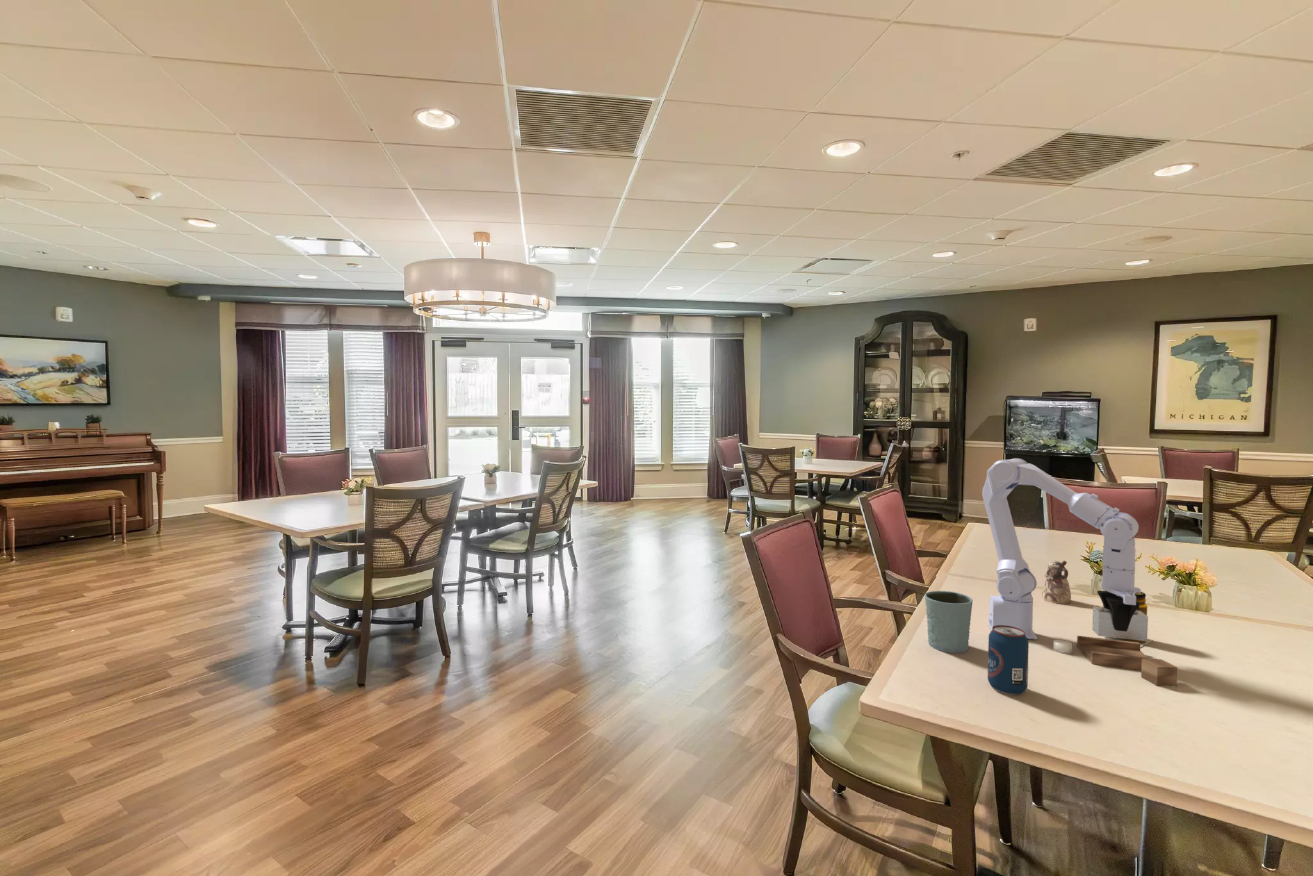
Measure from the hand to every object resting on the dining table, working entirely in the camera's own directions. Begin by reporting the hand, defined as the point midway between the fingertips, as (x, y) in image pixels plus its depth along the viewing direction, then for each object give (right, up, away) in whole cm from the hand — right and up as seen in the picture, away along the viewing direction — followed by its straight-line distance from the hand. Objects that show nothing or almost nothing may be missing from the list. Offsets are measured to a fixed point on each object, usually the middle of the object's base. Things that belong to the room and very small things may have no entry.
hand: (1116, 627), depth 134 cm
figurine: (+15, -6, +43) cm, 46 cm away
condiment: (+12, -7, +12) cm, 18 cm away
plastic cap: (-9, -7, +5) cm, 12 cm away
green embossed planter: (-35, -7, +7) cm, 36 cm away
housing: (0, -2, 0) cm, 2 cm away
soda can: (-34, -8, -15) cm, 38 cm away
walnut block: (0, -8, -11) cm, 14 cm away
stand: (0, -7, 0) cm, 7 cm away
